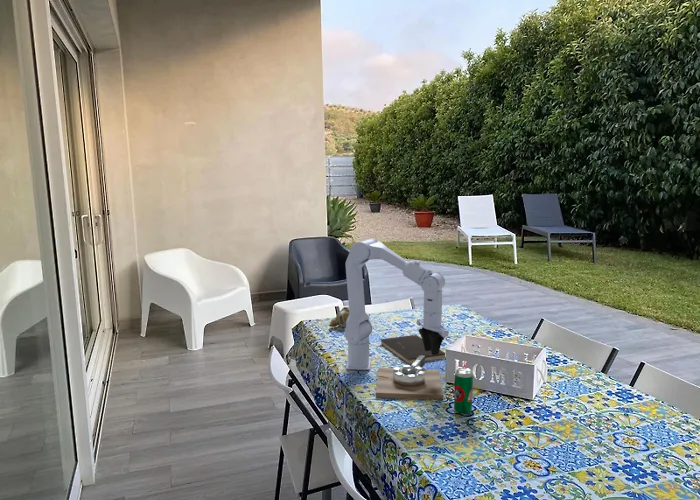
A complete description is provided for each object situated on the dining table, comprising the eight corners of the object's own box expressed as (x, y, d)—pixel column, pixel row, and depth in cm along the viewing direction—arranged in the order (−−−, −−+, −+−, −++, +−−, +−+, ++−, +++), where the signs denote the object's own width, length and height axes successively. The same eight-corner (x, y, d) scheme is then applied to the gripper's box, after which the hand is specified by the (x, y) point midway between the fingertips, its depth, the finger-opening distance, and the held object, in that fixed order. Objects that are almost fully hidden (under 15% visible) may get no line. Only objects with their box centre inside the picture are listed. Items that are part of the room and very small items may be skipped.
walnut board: (378, 372, 188) (378, 367, 188) (438, 373, 186) (438, 369, 186) (375, 397, 168) (375, 392, 168) (443, 399, 167) (443, 394, 166)
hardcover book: (407, 365, 195) (407, 359, 195) (380, 345, 216) (380, 339, 216) (447, 359, 201) (447, 353, 201) (417, 340, 222) (417, 334, 222)
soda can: (472, 415, 157) (473, 374, 155) (453, 414, 158) (454, 373, 156) (471, 407, 161) (473, 368, 159) (453, 406, 162) (455, 366, 160)
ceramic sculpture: (361, 302, 242) (351, 314, 228) (362, 321, 244) (352, 334, 230) (338, 301, 245) (326, 312, 231) (339, 320, 247) (327, 332, 233)
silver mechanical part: (419, 388, 171) (419, 377, 170) (388, 383, 175) (388, 372, 174) (436, 367, 188) (437, 357, 187) (408, 362, 192) (408, 353, 191)
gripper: (457, 315, 173) (455, 357, 175) (429, 304, 186) (428, 343, 188) (438, 318, 170) (437, 361, 172) (411, 306, 182) (411, 346, 185)
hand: (431, 352), depth 180 cm, fingers open, 3 cm apart
